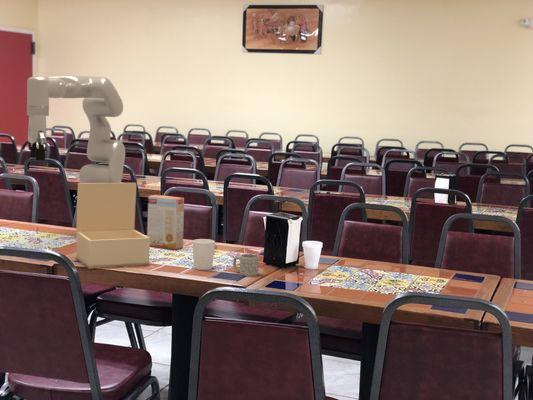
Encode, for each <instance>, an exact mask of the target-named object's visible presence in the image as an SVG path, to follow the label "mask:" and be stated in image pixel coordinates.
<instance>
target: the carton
mask: <svg viewBox="0 0 533 400" xmlns="http://www.w3.org/2000/svg"><path fill="white" fill-rule="evenodd" d="M150 247H151V246H150V238H149V237H147V235H145V234H143V233H142V232H140V231H138V230H136V229H129V230H104V231H85V232H81V231H79V232H77V231H76V250H75V251H76V252H75V253H76V255H75V257H76V260H78V262H80V263H81V264H82V263H83V264H82V265H83V266H84V267H86V268H87V269H88V270H91V269H94V268H95V269H99V268H98V267H111V268H118V267H117V266H127V267H139V266H140V267H141V266H150ZM115 266H116V267H115ZM95 269H94V270H95Z"/></svg>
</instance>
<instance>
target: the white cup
mask: <svg viewBox="0 0 533 400" xmlns="http://www.w3.org/2000/svg"><path fill="white" fill-rule="evenodd" d="M215 244H216V241H215V240H213V239H210V238H207V239H206V238H199V239H196V238H195V239H194V240H192V256H193V257H192V259H193V268H194V269H195V270H199V271H208V270H209V271H210V270H212V269H213V265H214V259H215V258H214V256H215Z"/></svg>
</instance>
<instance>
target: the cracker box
mask: <svg viewBox="0 0 533 400" xmlns="http://www.w3.org/2000/svg"><path fill="white" fill-rule="evenodd" d="M147 198H148V201H147V235H146V236H147V237H149V238H150V247H153V248H161V249H166V250H171V251H172V250H173V251H175V250H180V249H183V246H184V222H185V221H184V218H185V217H184V215H185V214H184V213H185V198H184V197H180V196H172V195H171V196H170V195H163V194H162V195H160V194H153V195H148V197H147Z"/></svg>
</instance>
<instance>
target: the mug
mask: <svg viewBox="0 0 533 400" xmlns="http://www.w3.org/2000/svg"><path fill="white" fill-rule="evenodd" d="M232 260H233V261H232V266H233V269H234V270H236V271H237V272H239V276H242V277H258V276H259V268H260V267H259V264H260V263H259V262H260V255H258V254H252V253H244V254H240V255H238V256H237V255H236V256H234V257H233V259H232ZM237 260H239V267H238V266H237Z"/></svg>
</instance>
